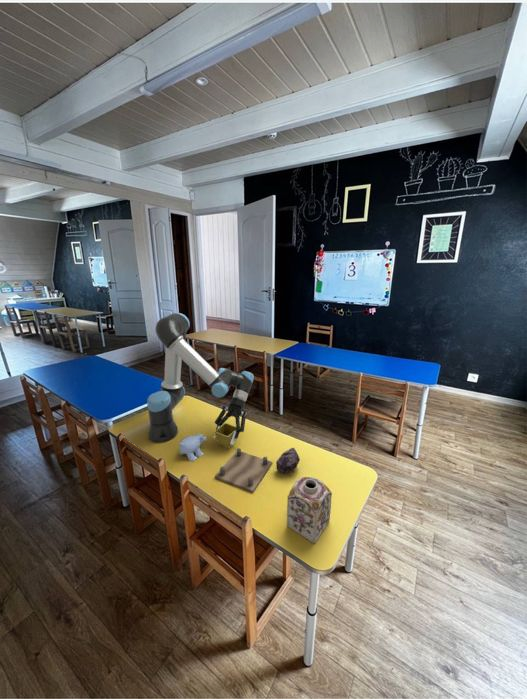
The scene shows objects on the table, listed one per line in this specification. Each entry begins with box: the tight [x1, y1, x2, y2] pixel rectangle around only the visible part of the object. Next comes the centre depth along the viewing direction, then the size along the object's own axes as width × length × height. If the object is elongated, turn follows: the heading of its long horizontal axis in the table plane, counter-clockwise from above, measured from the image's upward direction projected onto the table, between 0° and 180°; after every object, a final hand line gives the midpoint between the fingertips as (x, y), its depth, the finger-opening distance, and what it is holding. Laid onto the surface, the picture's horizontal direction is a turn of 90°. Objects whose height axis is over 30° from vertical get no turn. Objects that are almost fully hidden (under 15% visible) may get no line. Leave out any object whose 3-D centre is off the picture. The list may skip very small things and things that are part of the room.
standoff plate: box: [214, 447, 273, 494], centre depth 127 cm, size 19×19×4 cm
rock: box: [275, 447, 301, 475], centre depth 127 cm, size 12×9×10 cm
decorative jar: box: [286, 476, 333, 544], centre depth 99 cm, size 12×12×18 cm
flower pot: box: [214, 422, 237, 449], centre depth 143 cm, size 9×9×9 cm
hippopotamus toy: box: [179, 433, 207, 462], centre depth 139 cm, size 11×15×10 cm
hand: (223, 441), depth 141 cm, fingers closed on flower pot, 9 cm apart
